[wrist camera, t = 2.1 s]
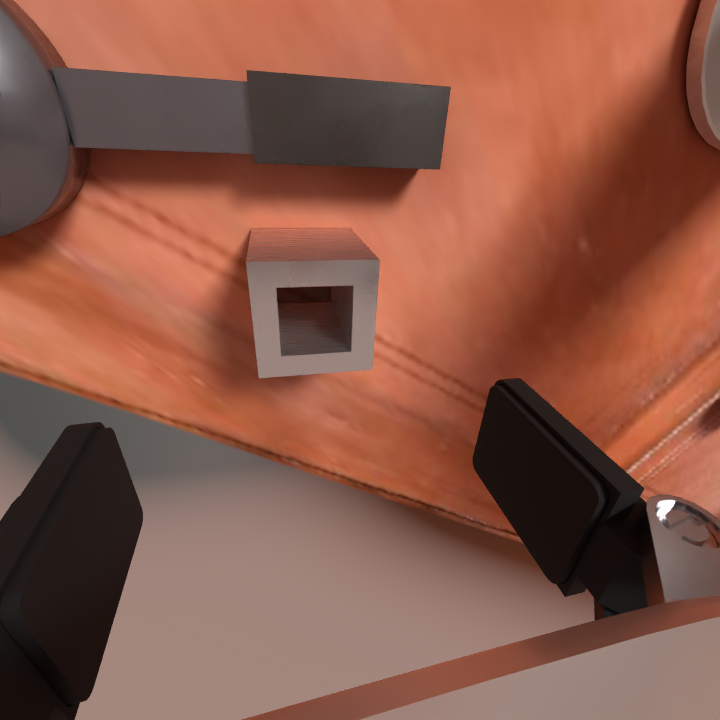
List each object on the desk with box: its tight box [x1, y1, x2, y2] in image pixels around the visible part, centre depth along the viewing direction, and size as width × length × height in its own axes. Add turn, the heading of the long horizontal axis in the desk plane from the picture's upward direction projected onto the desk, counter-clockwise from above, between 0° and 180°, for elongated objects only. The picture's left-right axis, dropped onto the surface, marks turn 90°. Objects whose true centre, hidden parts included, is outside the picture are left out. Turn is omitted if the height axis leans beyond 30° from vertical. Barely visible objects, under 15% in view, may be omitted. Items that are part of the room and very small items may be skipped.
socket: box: [246, 228, 380, 378], centre depth 18 cm, size 5×5×6 cm
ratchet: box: [0, 0, 451, 237], centre depth 13 cm, size 24×9×6 cm, turn 87°
